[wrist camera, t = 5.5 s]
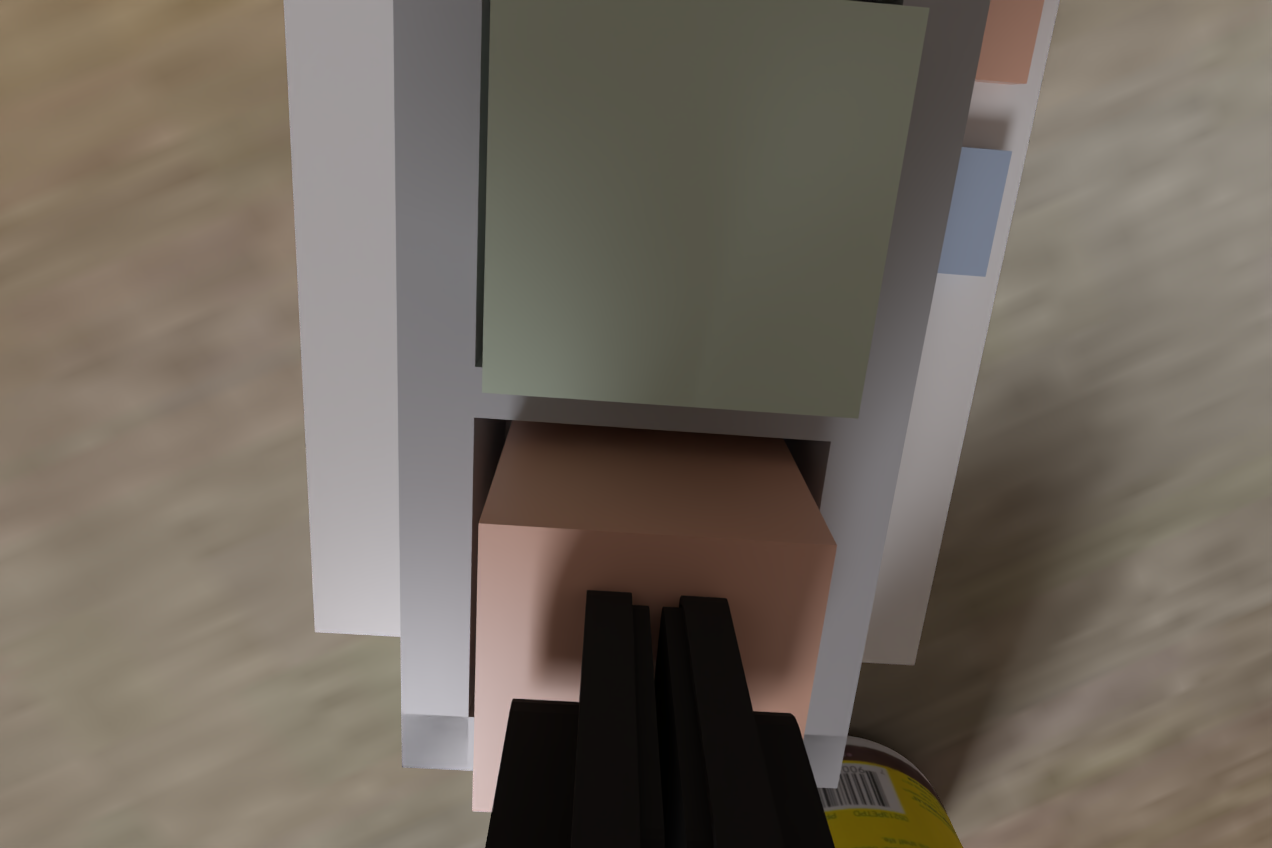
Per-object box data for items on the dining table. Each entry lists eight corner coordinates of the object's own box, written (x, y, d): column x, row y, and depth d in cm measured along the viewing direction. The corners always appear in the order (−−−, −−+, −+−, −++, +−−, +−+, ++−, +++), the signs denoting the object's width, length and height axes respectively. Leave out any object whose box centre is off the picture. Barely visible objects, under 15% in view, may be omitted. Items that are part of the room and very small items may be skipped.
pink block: (523, 387, 14) (478, 523, 10) (766, 404, 15) (836, 545, 10) (514, 601, 16) (472, 811, 11) (737, 614, 16) (787, 825, 11)
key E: (537, 18, 13) (490, -33, 8) (814, 43, 13) (929, 7, 8) (526, 295, 14) (481, 392, 9) (777, 314, 14) (857, 418, 9)
